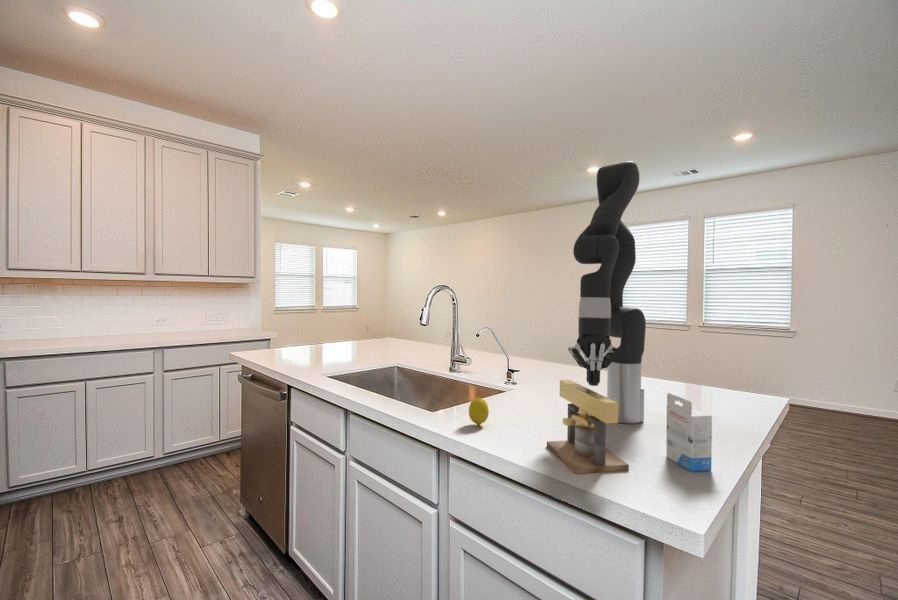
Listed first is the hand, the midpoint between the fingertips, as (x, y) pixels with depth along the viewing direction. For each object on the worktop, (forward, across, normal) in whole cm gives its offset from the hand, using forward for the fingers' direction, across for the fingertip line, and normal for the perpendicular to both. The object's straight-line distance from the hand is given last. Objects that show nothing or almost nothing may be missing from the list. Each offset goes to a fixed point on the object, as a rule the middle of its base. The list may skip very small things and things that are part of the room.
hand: (593, 385), depth 101 cm
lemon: (+15, +25, -16) cm, 34 cm away
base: (+14, +6, +9) cm, 18 cm away
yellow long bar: (+7, +6, +9) cm, 13 cm away
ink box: (+14, -15, +14) cm, 25 cm away
